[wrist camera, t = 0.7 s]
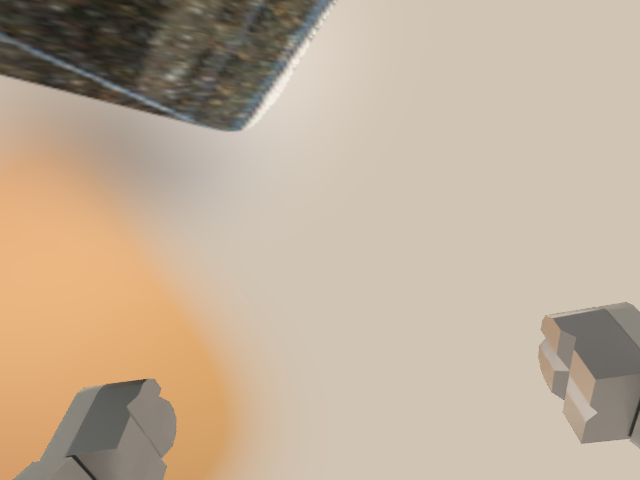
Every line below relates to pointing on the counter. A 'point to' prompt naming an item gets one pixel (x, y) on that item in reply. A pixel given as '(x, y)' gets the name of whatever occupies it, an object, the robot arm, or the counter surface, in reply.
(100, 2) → the counter surface
